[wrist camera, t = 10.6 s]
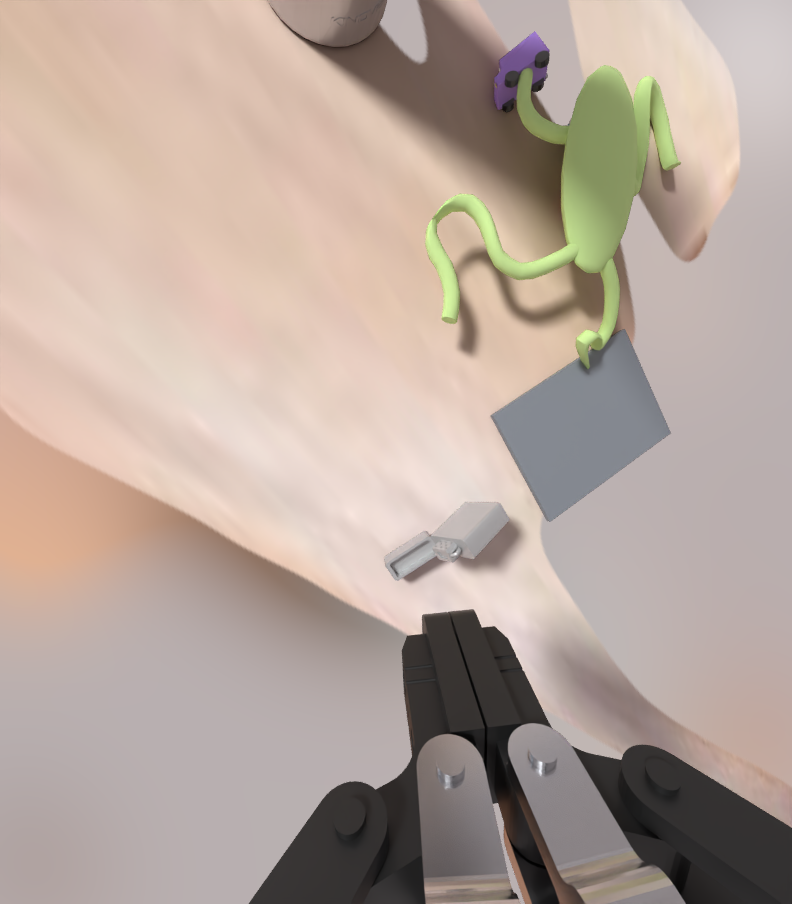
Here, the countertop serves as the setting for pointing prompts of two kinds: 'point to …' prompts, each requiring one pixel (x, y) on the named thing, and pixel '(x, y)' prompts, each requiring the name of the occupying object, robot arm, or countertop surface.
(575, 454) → the slate pad
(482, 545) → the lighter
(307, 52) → the countertop surface
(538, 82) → the figurine
